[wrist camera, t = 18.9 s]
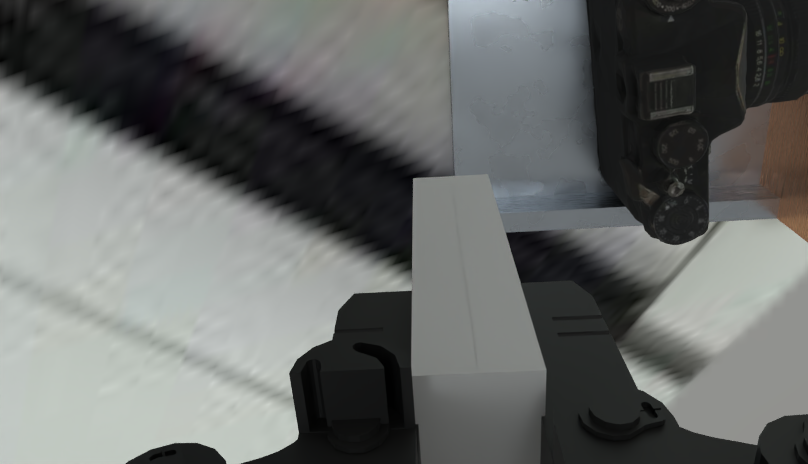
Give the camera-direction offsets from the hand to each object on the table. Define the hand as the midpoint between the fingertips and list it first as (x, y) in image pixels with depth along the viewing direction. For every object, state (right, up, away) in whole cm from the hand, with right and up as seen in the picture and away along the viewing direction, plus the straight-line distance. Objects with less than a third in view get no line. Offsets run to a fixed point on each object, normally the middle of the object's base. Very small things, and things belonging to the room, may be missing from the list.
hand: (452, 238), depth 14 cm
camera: (+14, +10, +23) cm, 29 cm away
